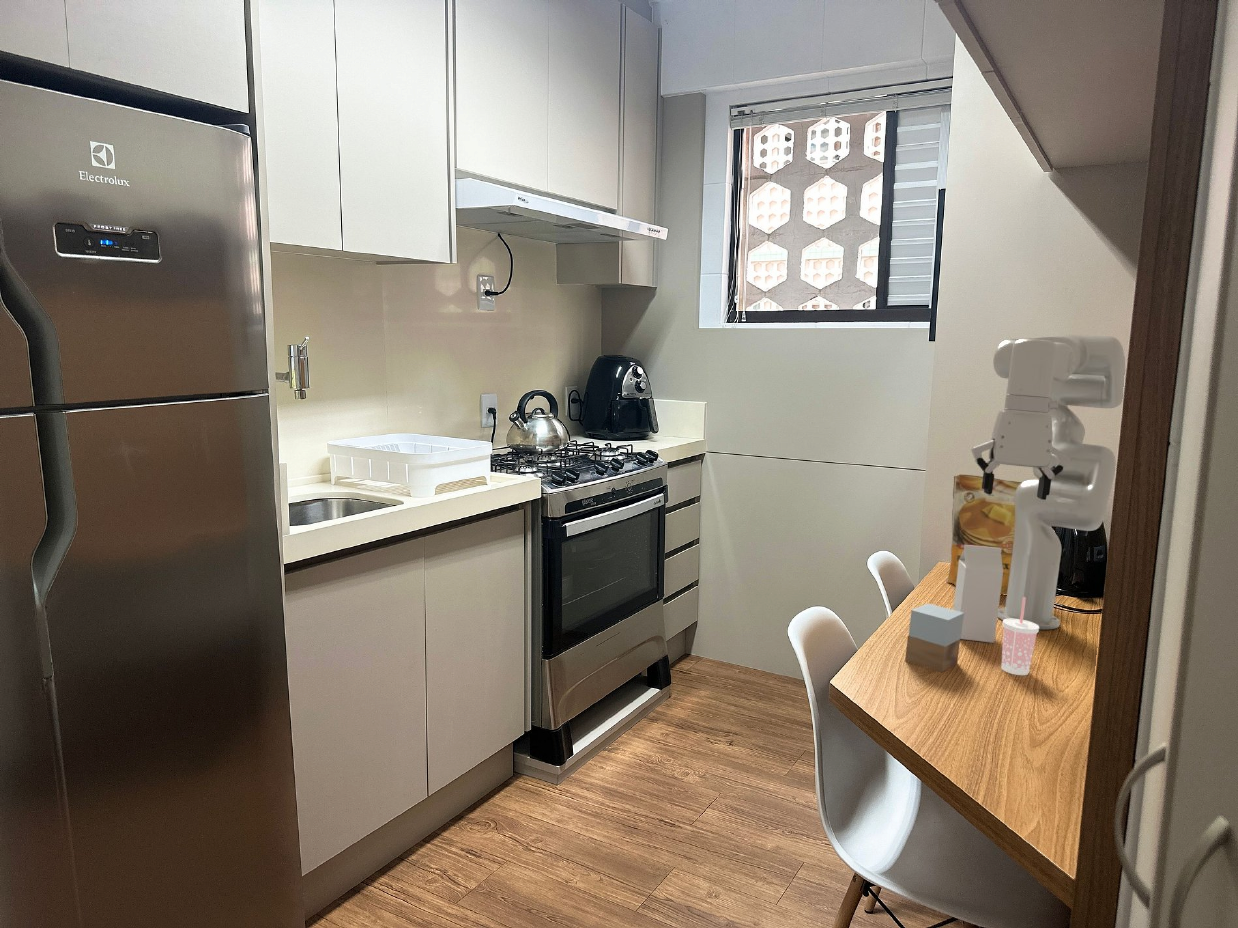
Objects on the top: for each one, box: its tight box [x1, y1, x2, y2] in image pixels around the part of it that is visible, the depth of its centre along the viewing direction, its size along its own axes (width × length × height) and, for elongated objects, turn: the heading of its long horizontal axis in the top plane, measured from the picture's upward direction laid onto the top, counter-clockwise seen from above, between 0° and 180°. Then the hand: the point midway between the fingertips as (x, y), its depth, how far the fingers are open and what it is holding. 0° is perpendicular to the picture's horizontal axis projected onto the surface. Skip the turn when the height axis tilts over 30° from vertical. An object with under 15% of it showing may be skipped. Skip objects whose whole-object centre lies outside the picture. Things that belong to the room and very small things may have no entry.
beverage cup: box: [1000, 597, 1040, 676], centre depth 154 cm, size 6×6×14 cm
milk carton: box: [952, 545, 1003, 644], centre depth 172 cm, size 7×7×19 cm
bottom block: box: [904, 635, 961, 673], centre depth 157 cm, size 7×7×5 cm
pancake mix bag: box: [945, 474, 1023, 594], centre depth 208 cm, size 7×19×28 cm, turn 55°
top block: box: [908, 602, 964, 647], centre depth 156 cm, size 7×7×5 cm
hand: (1014, 496), depth 159 cm, fingers open, 9 cm apart
